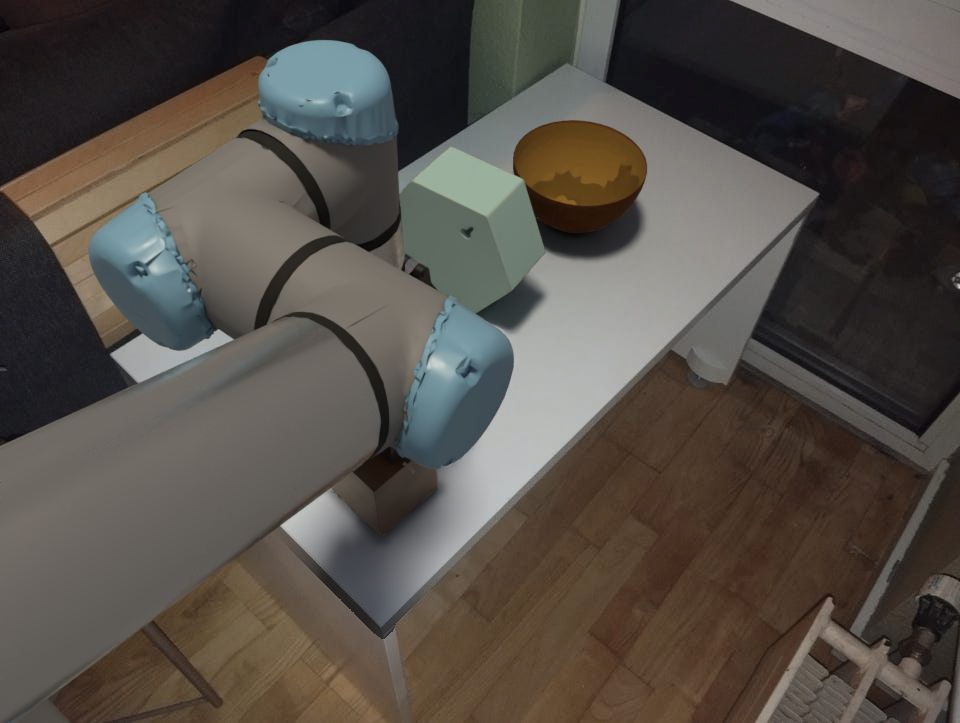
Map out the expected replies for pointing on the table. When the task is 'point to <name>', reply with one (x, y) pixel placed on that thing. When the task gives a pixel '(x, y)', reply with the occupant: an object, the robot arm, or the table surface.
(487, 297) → the sage hexagonal prism
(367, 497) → the pegged wooden cube
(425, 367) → the robot arm
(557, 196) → the bowl
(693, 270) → the table surface
